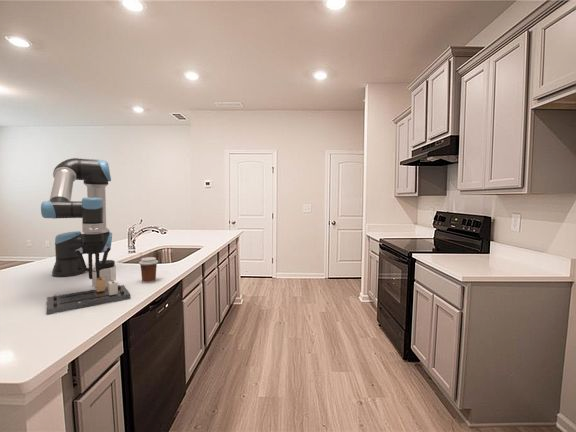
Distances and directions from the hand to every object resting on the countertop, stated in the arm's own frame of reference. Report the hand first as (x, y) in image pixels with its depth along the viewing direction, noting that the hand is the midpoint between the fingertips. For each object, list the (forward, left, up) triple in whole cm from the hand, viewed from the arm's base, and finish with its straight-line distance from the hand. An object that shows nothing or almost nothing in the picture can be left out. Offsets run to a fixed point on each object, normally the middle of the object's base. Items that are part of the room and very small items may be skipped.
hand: (94, 285), depth 126 cm
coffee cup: (-11, +25, -5) cm, 28 cm away
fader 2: (+8, +6, -2) cm, 10 cm away
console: (+4, -2, -5) cm, 7 cm away
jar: (-15, +6, -5) cm, 17 cm away
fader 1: (0, +2, -2) cm, 3 cm away
